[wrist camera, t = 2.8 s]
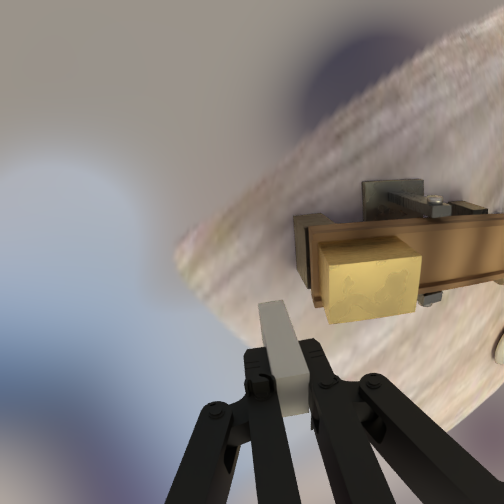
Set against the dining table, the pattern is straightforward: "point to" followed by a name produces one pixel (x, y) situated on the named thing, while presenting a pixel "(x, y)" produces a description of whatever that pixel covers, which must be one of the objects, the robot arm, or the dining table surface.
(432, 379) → the dining table surface
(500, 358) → the flower in vase
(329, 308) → the block
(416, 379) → the dining table surface
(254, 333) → the dining table surface
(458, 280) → the beam
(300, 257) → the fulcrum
